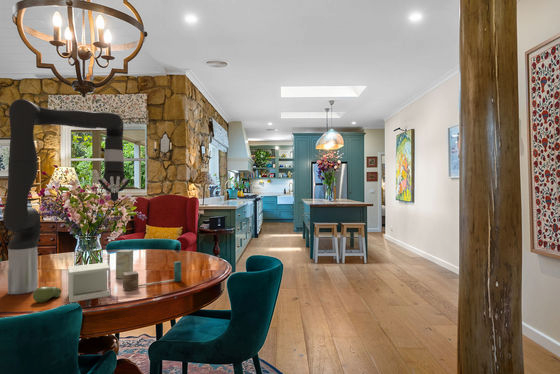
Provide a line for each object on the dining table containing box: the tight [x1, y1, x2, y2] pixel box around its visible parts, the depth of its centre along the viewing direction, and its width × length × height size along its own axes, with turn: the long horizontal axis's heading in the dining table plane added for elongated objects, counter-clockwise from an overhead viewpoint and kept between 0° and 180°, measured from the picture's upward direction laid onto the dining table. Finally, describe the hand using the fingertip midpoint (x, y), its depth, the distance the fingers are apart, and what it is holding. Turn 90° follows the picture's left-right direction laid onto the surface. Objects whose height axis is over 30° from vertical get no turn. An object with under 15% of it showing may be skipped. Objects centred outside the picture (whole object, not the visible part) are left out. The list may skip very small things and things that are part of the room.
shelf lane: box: [67, 261, 111, 303], centre depth 130 cm, size 13×11×11 cm
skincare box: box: [115, 249, 134, 279], centre depth 156 cm, size 6×4×12 cm
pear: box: [32, 286, 62, 303], centre depth 125 cm, size 6×5×10 cm
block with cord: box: [122, 261, 182, 291], centre depth 143 cm, size 23×5×8 cm, turn 123°
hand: (114, 201), depth 146 cm, fingers closed
